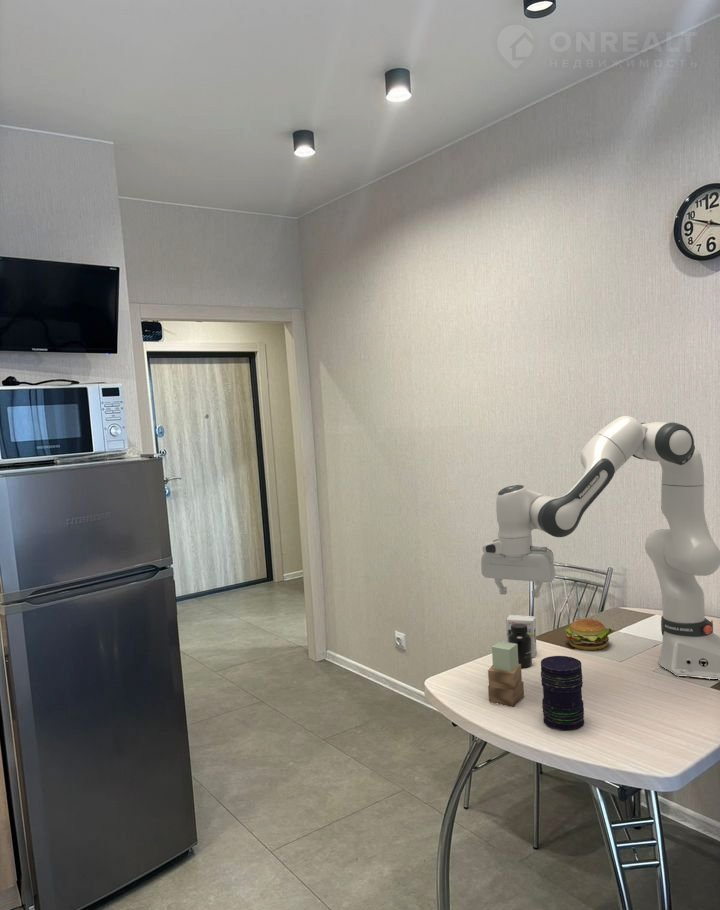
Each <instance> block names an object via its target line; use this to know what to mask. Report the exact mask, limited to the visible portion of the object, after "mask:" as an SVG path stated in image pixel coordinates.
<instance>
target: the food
mask: <svg viewBox="0 0 720 910" xmlns="http://www.w3.org/2000/svg"><path fill="white" fill-rule="evenodd" d="M564 630H565V638H566V639H568V641H569V645H570V646H571V647H573V648H576V649H579V650H584V651H597V649H598V650H602V649H604V648H606V647H608V642H609V640H610V638H609V636H608V635H610V634H611V633H612V629H611V628H606V625H604V624H603V623H602V622H601V621H599V620H597V619H593V618H579V619H577V620H576V619H575V620H574V621H572V622H571V624H570V625H569V626H567V628H565V629H564Z"/></svg>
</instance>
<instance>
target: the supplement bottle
mask: <svg viewBox="0 0 720 910" xmlns="http://www.w3.org/2000/svg"><path fill="white" fill-rule="evenodd" d="M511 632H512V633H511V634H510V635H509V636H508V642H509V643H515V644H517V645H518V664H521V669H525V668H529V667H531V666H532V664H533V657H532V649H531V637H530V635H529V634H528V633H527V632H528V630H527V625H525V624H519V623H518V624H512V625H511Z"/></svg>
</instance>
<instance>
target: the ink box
mask: <svg viewBox="0 0 720 910" xmlns="http://www.w3.org/2000/svg"><path fill="white" fill-rule="evenodd" d="M536 620H537V618H536V616H532V615H518V614H509V615H508V616H507V617H506V621H505V622H506V642H508V636H509V635H510V634H511V633H512V632H511V625H512V624H518V623H519V624H525V625H527V630H528V632H527V633H528V634H529V635H530V637H531V649H532V658H535V657H536V655H537V654H538V653H537V623H536V622H537V621H536Z"/></svg>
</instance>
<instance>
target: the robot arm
mask: <svg viewBox="0 0 720 910" xmlns="http://www.w3.org/2000/svg"><path fill="white" fill-rule="evenodd" d="M583 446H584V447H583V448H582V449H581V450H580V455H579V457H580V463H581V464H582V466H583V468H584V470H585V471H584V474H583V475H582V476H581V477H580V478H579V479H578V481H576V483H575V484H574V485H572V487H571V488H570V490H568V492H567V493H565V494H564V495H561V496H557V497H555V496H552V495H548V494H543V493H540V492H537V491H535V490H531V489H530V488H528V487H526V486H524V485H522V484H515V485H509V486H506V487H504V488H502V489H501V490H499V491H498V492H497V494H496V495H497V497H496V502H495V503H496V504H495V505H496V506H495V508H496V511H495V513H496V522H497V524H498V534H497V539H494V540H492V541H489V542H487V543H485V544H483V545H482V546H481V547H482V548H481V549H482V552H483V554H482V556H481V561H480V563H481V564H480V565H481V567H480V569H481V575H482V576H483V578H485V579H486V578H487V579H494V583H495V585H496V586H497V588H498V591H499V595H507V594H508V587H506V586H504V585H503V580H509V581H510V580H512V581H522V582H523V581H524V582H534V586H536V587H535V589H532V590H531V597H532V598H535V599H536V598H537V599H538V598H540V597H541V596H540V595H541V594H540V590H541V589H542V586H543V584H544V583H548V584H549V583H551V582H552V581H553V580H554V579H555V578H556V571H555V565H554V558H555V557H554V552H553V551H552V549H549V548H548V547H547V546H542V547H541V546H533V538H532V531H533V530H539V531H542V532H545V533H547V534H548V535H550V536H552V537H555V538H565V537H567V536H569V535H571V534H572V533H573V532H574V531H575V530H576V529H577V527H578V526H579V523H580V522H581V519H582V518H583V515H584V513H585V512H586V511H587V509H588V508H589V507H590V506H591V505H592V503H593V502H594V501H595V500H596V499H597V498H598V497H599V495H600V494H601V493H602V492H603V491H604V490H605V489H606V487H607V486H608V485H609V484H610V482H611V481H612V479H613V477H615V476H614V475H615V474H616V473H617V472H618V470H620V468H622V467H623V465H625V464H626V462H627V461H629V459H631V458H632V457H634V458H636V459H639V460H646V461H650V462H659V464H660V467H661V470H662V471H661V485H660V486H661V490H660V492H661V497H660V498H661V499H660V502H661V503H660V505H661V506H660V510H661V512H662V514H663V516H664V517H665V519H666V521H667V523H668V525H669V528H661V529H655V530H653V531H652V532H650V533H649V534H648V535H647V537H646V538H645V541H644V542H645V543H644V550H645V553H646V554H647V556H648V557H649V559H650V561H651V562H652V564H653V567H654V570H655V573H656V576H657V579H658V581H659V587H660V592H661V605H662V616H661V619H660V631H661V635H662V642H661V649H660V656H659V659H658V662H659V663H658V665H659V664H660V665H661V666H662V667H664V668H666V669H668V670H670V671H672V672H673V673H674V674H676V675H687V676H702V677H711V678H717V679H720V636H719V635H717V634H716V633H715V632H714V621H713V620H711V621H710V620H709V619H707V618H706V617H705V616H706V615H705V614H706V613H705V594H704V590H703V588H702V587H701V586H700V584H699V583H698V581H697V579H696V578H697V577H695V576H698V577H699V576H700V577H704V576H705V577H706V576H710V575H712V574H714V573H716V572H717V571H718V569H719V568H720V548H719V547H718V545H717V544H716V543H715V541H714V540H713V538H712V535H711V534H710V530H709V527H708V525H707V520H706V515H705V474H704V466H703V459H702V456H701V455H702V454H701V453H700V451H699V450H698V449H697V448H696V446H695V439H694V435H693V434H692V432H691V430H690V429H689V428H688V427H687V426H685V425H683V424H681V423H677V422H667V421H654V422H640V421H639V420H638V419H637V418H635V417H632V416H630V415H622V416H619V417H617V418H616V419H614V420H612V421H611V422H609V423H608V424H607V425H606V426H604V427H603V428H601V429H600V430H599V431H598V432H597V433H595V435H593V436H592V437H591V438H590V439H589V440H588V441H587V442H586V443H585V445H583ZM660 665H659V666H660ZM661 666H660V667H661ZM662 667H661V668H662ZM664 668H663V669H664ZM666 669H665V670H666ZM668 670H667V671H668ZM670 671H669V672H670Z"/></svg>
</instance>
